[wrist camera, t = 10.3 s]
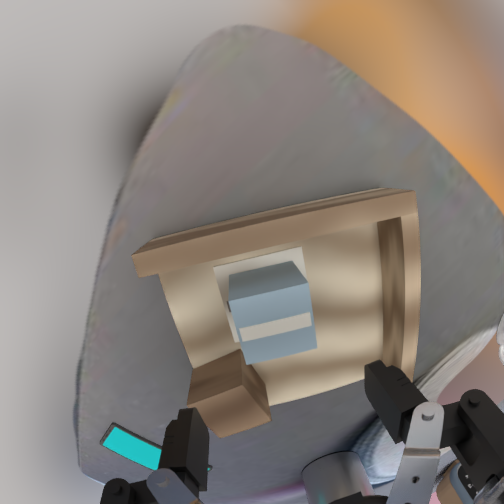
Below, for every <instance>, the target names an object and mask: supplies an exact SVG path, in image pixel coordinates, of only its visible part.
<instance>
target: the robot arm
mask: <svg viewBox="0 0 504 504" xmlns="http://www.w3.org/2000/svg"><path fill="white" fill-rule="evenodd" d="M364 377H365V392H366V395H367V398H368V399H369V401H370V403H371V404H372V406H373V408H374V409H375V411H376V412H377V414H378V416H379V417H380V419H381V421H382V422H383V424H384V426H385V427H386V429H387V431H388V432H389V434H390V436H391V437H392V439H393V441H394V442H395V444H397V443H399V442H401V441H403V442H404V444H405V449H404V452H403V456H402V459H401V463H400V466H399V469H398V472H397V475H396V478H395V481H394V484H393V487H392V489H391V492H390V495H389V497H387V496H381V495H375V493H374V490H373V488H372V486H371V483H370V481H369V479H368V477H367V474H366V472H365V469H364V467H363V465H362V463H361V460H360V458H359V456H358V455H357V454H356V453H354V452H340V453H335V454H331V455H328V456H325V457H322V458H320V459H318V460H316V461H314V462H312V463H311V464H309V465H308V466H307V467H306V468H305V469H304V470H303V472H302V477H303V482H304V486H305V490H306V495H307V499H308V503H309V504H429V501H430V498H431V494H432V491H433V487H434V483H435V479H436V474H437V470H438V465H439V460H440V451H439V449H441V448H445V447H448V446H450V447H451V449H452V451H453V452H454V454H455V455H456V457H457V459H458V460H459V462H460V463H461V465H462V467H463V468H464V470H465V472H466V473H467V475H468V477H469V478H470V480H471V482H472V483H473V485H474V487H475V488H476V490H477V492H478V494H477V495H476V496H475V498H474V501H473V504H504V413H503V412H502V411H501V410H500V409H499V408H498V407H497V405H496V404H495V403H494V402H493V401H492V400H491V399H490V398H489V397H488V396H487V395H486V393H484V392H483V391H481V390H478V389H473V390H469V391H467V392H465V393H464V394H463V395H462V397H461V399H460V401H459V402H455V403H452V404H448V405H442V406H441V405H440V404H438V403H436V402H429V401H428V400H427V399H426V398H425V397H424V396H423V394H422V393H421V392H420V391H419V390H418V389H417V387H416V386H415V385H414V384H413V383H412V382H411V380H410V379H409V378H408V377H407V376H406V375H405V373H404V372H403V371H402V370H401V369H399V368H397V367H395V366H393V365H391V366H389V367H386V366H385V364H384V363H383V362H382V361H381V360H380V359H379V360H376V361H374V362H371V363H368V364H366V365H365V366H364ZM208 454H209V432H208V429H207V426H206V424H205V423H204V421H203V419H202V417H201V415H200V413H199V412H198V410H197V408H195V407H193V408H186V409H180V410H179V414H178V419H177V420H172V421H171V422H170V424H169V425H168V426H167V428H166V432H165V438H164V441H163V445H162V450H161V455H160V459H159V464H158V469H157V470H155V471H153V472H152V473H150V475H149V476H148V477H147V479H146V480H143V481H139V482H135V483H130V484H129V483H128V482H127V481H126V480H124V479H121V478H116V479H112V480H110V481H109V482H107V483H106V485H105V486H104V489H103V493H102V497H101V501H100V504H204V503H203V502H202V501H201V500H200V499H199V491H207V475H208Z"/></svg>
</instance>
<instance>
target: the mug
mask: <svg viewBox="0 0 504 504" xmlns="http://www.w3.org/2000/svg"><path fill="white" fill-rule="evenodd" d="M496 338H497V343H498V344H499V345H500V347H499V358H500V361H501V363H502V364H503V365H504V313H503V316H502V318H501V321H500V323H499V326H498V330H497V335H496Z"/></svg>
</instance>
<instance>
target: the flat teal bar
mask: <svg viewBox="0 0 504 504" xmlns="http://www.w3.org/2000/svg"><path fill="white" fill-rule="evenodd" d="M100 445H102V446H104V447H106V448H107V449H109V450H111V451H113V452H115V453H117V454H119V455H121V456H123V457H125V458H127V459H129V460H131V461H133V462H135V463H137V464H140V465H142V466H144V467H146V468H149V469H151V470H153V471H155V470H157V469H158V464H159V459H160V455H161V450H162V446H160V445H158V444H156V443H153V442H151V441H149V440H147V439H145V438H143V437H141V436H139V435H137V434H135V433H133V432H131V431H129V430H127V429H126V428H124V427H122V426H120V425H118V424H116V423H112V424H111V426H110V427H109V429H108V430H107V432H106V434H105V435H104V436H103V438H102V439H101V441H100ZM210 470H212V466H211V465H208V472H209V471H210Z"/></svg>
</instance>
